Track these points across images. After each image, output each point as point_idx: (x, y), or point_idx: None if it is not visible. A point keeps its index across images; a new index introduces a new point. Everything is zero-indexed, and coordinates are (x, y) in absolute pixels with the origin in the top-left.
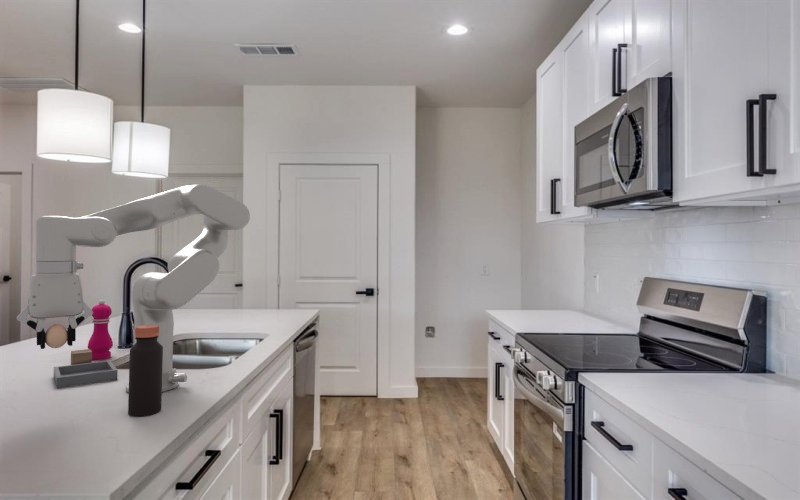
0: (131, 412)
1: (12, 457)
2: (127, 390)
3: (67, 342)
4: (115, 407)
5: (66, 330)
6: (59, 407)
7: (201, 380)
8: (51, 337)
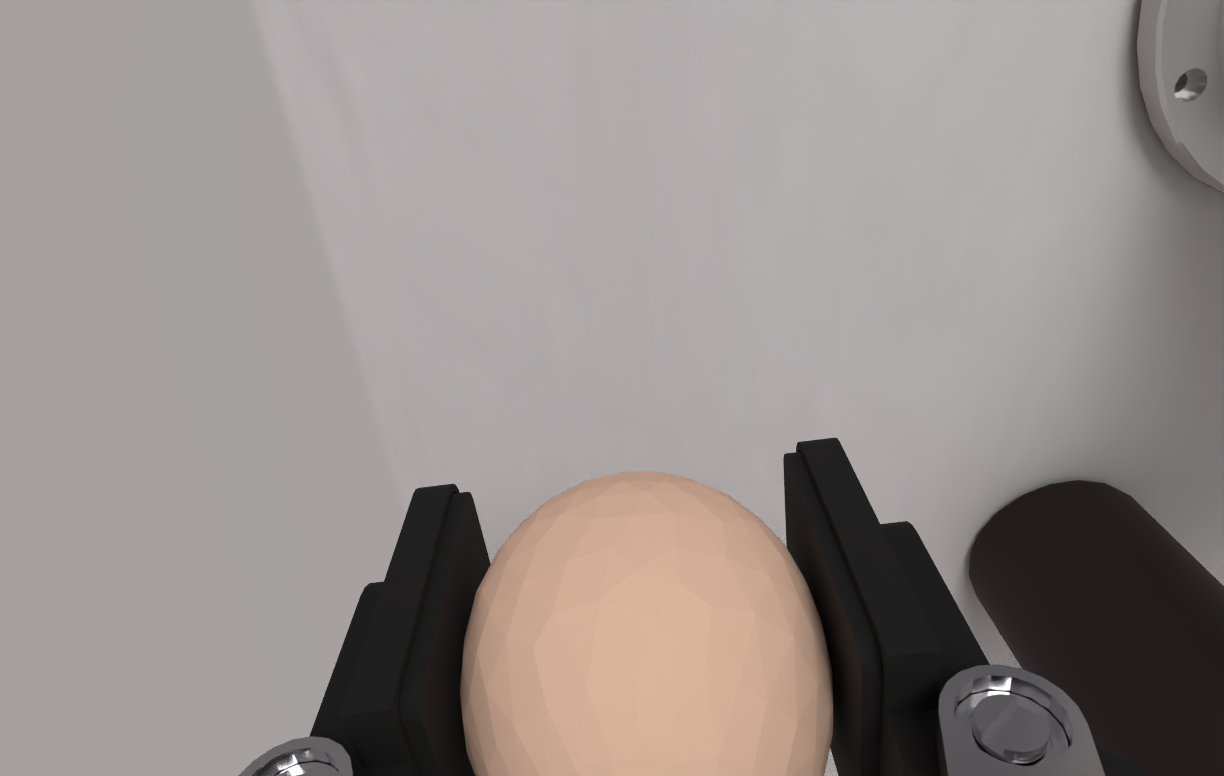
0: (981, 601)
1: None
2: (1144, 48)
3: (789, 494)
4: (947, 389)
5: (823, 768)
6: (632, 209)
7: None
8: None
